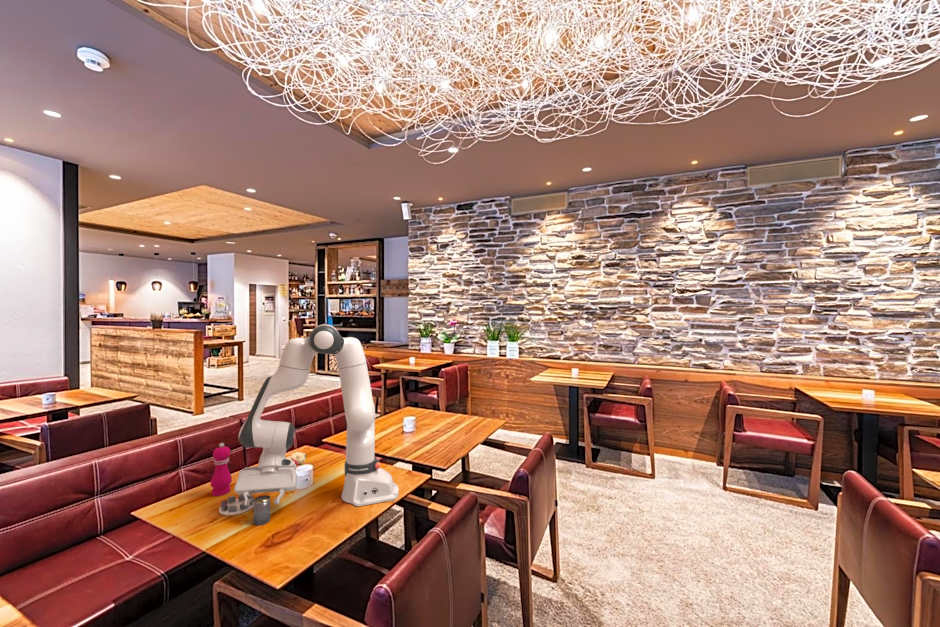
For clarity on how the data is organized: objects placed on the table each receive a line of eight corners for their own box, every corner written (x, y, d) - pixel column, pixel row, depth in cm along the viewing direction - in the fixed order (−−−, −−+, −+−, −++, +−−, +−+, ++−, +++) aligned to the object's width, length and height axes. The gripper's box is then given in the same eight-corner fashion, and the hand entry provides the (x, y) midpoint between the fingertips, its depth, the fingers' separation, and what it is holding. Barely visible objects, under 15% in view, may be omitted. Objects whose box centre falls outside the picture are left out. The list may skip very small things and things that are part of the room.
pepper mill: (221, 497, 151) (221, 446, 151) (205, 495, 152) (206, 445, 152) (236, 489, 158) (236, 440, 158) (221, 487, 159) (221, 439, 159)
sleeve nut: (271, 517, 137) (272, 494, 137) (267, 524, 132) (267, 501, 132) (256, 518, 136) (256, 495, 136) (251, 526, 131) (251, 502, 131)
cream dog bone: (269, 485, 165) (312, 460, 188) (268, 465, 164) (311, 442, 187) (252, 481, 168) (297, 457, 192) (251, 462, 168) (296, 440, 191)
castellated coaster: (259, 498, 150) (259, 491, 150) (248, 513, 139) (249, 506, 139) (226, 501, 148) (227, 494, 148) (213, 516, 137) (213, 509, 137)
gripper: (238, 463, 140) (226, 503, 130) (298, 460, 144) (291, 499, 134) (242, 471, 144) (231, 510, 135) (300, 467, 148) (294, 505, 139)
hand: (261, 504), depth 135 cm, fingers open, 8 cm apart
